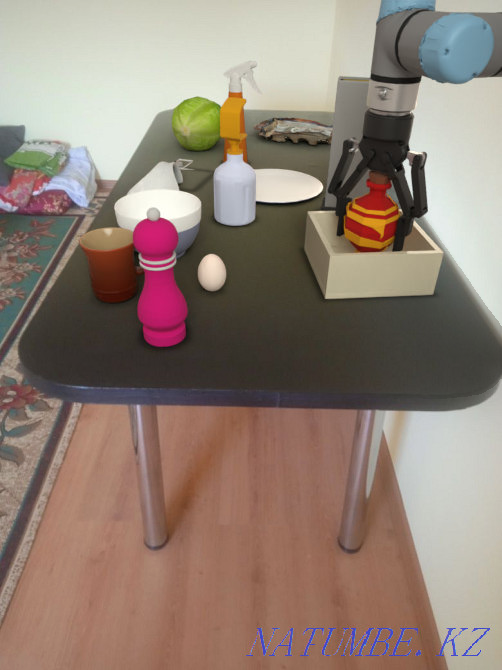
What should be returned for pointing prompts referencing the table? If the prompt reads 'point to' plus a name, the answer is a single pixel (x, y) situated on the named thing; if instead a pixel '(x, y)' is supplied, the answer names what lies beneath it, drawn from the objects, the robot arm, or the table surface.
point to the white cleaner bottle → (234, 172)
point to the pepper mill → (159, 281)
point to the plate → (285, 186)
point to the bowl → (162, 213)
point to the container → (348, 133)
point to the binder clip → (182, 164)
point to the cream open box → (369, 262)
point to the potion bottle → (372, 216)
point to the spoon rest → (160, 178)
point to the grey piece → (295, 130)
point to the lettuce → (197, 123)
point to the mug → (111, 263)
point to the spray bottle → (236, 92)
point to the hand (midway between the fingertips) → (368, 242)
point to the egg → (211, 272)
